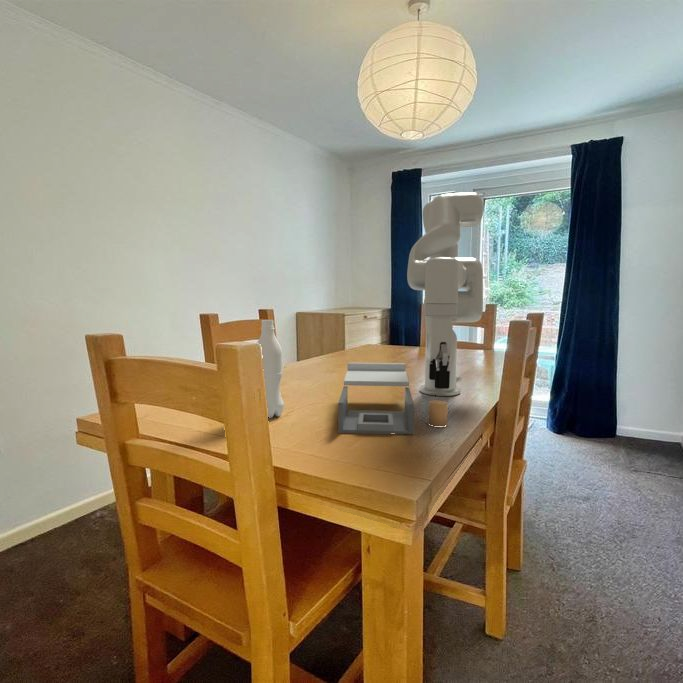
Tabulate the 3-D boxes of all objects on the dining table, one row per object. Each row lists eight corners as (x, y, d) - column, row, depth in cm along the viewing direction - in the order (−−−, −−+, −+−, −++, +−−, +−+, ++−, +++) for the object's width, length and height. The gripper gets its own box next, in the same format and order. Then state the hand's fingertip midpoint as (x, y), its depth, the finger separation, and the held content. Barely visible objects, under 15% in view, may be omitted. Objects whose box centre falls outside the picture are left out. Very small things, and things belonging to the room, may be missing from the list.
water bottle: (285, 410, 111) (283, 318, 107) (282, 419, 104) (279, 321, 100) (258, 411, 111) (255, 319, 107) (254, 419, 104) (250, 321, 100)
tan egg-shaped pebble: (434, 420, 103) (435, 399, 102) (450, 424, 99) (451, 402, 99) (424, 424, 99) (425, 402, 99) (440, 429, 96) (441, 406, 96)
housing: (343, 412, 109) (343, 386, 108) (408, 414, 107) (408, 387, 106) (338, 432, 94) (338, 402, 93) (413, 434, 93) (413, 404, 92)
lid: (347, 373, 123) (347, 362, 122) (405, 373, 121) (405, 363, 121) (343, 385, 108) (343, 373, 107) (408, 386, 106) (409, 374, 106)
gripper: (420, 310, 104) (419, 376, 106) (429, 312, 87) (427, 391, 89) (450, 310, 104) (448, 377, 106) (465, 313, 87) (462, 392, 88)
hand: (438, 383), depth 97 cm, fingers open, 9 cm apart
